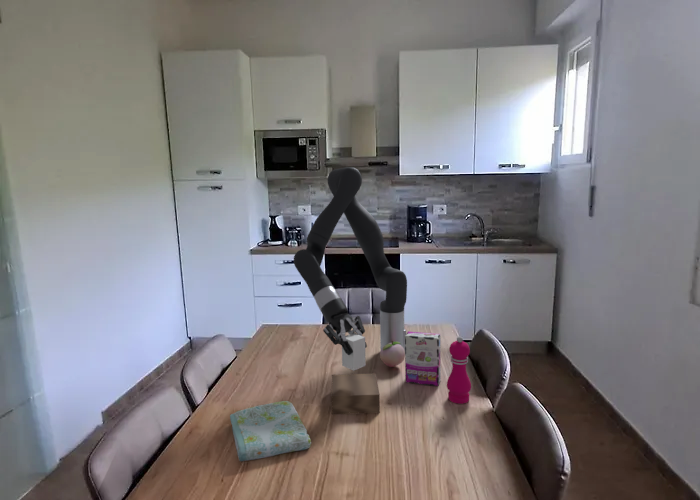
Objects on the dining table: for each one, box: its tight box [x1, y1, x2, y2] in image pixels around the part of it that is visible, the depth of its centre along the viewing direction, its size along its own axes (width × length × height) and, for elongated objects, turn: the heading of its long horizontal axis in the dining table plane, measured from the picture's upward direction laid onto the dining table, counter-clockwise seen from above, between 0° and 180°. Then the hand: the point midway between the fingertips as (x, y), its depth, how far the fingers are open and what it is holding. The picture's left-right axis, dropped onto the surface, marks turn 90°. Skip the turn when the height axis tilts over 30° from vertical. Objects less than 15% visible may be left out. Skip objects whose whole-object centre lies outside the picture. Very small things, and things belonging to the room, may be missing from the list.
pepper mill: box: [446, 336, 472, 405], centre depth 136 cm, size 7×7×20 cm
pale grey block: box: [341, 333, 367, 372], centre depth 135 cm, size 5×5×9 cm
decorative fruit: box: [379, 341, 405, 368], centre depth 160 cm, size 9×8×10 cm
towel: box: [229, 400, 312, 462], centre depth 120 cm, size 18×21×5 cm
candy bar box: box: [404, 331, 442, 387], centre depth 148 cm, size 11×5×16 cm, turn 71°
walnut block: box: [330, 373, 381, 415], centre depth 137 cm, size 14×14×6 cm
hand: (357, 350), depth 133 cm, fingers closed on pale grey block, 5 cm apart
